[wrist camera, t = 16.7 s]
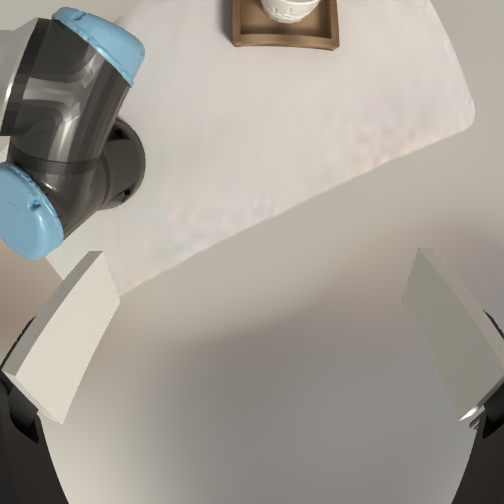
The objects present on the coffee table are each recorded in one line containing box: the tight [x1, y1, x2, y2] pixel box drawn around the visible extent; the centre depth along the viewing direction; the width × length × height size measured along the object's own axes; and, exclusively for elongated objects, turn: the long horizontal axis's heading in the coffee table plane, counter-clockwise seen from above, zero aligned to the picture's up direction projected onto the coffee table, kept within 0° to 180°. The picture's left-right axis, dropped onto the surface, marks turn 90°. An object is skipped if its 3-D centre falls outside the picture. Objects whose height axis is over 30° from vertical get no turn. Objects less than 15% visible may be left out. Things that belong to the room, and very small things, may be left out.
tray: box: [232, 0, 339, 51], centre depth 25 cm, size 14×14×4 cm
